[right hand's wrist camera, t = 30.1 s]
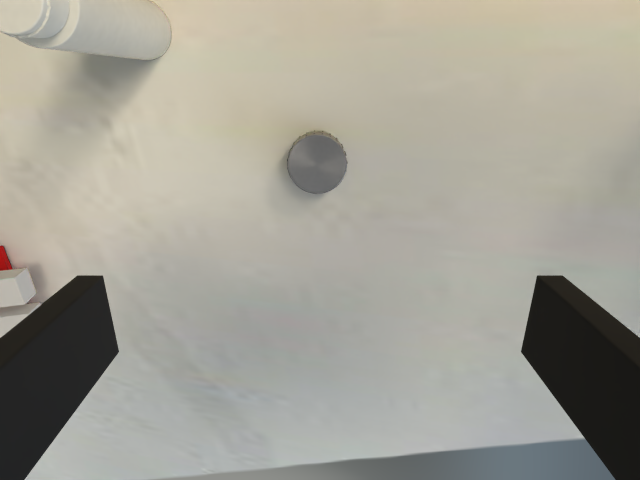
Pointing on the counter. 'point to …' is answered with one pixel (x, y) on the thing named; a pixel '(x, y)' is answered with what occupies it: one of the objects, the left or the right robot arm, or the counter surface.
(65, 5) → the jar
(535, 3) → the counter surface
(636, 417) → the right robot arm
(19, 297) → the toy
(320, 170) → the lid
